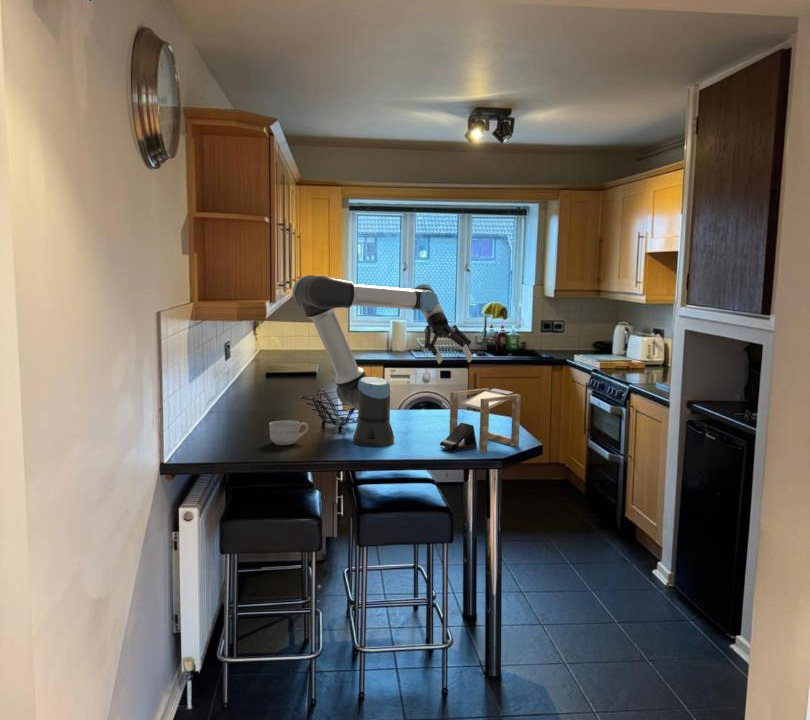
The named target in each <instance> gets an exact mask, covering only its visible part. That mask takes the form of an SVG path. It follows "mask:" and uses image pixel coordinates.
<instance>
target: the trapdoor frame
mask: <svg viewBox="0 0 810 720" xmlns="http://www.w3.org/2000/svg"><path fill="white" fill-rule="evenodd" d="M489 390H491V389H490V388H488V387H487V388H486V387H485V388H477V389H467V390H461V391H450V397H449V398H450V401H449V402H450V403H449V435H450V434H451V433H452V432H453V431H454V429H455V428H456V427H457V426H458V418H459V417H458V415H459V396H464V395H465V396H466V395H474V394H475V395H476V394H480V393H482V392H485V391H489ZM521 397H522V396H521V394H518V393H515V394H514V393H513V395H508V396H500V397H492V398H482V399H481V404H480V409H479V410H480V411H479V438H478V440H479V443H478V452H479V453H481V452H482V454H484V452H485V453H487V452H488V440H489V439H490V441H493V440H494V441H493V442H497V443H501V444H505V445H507V444H508V445H507V446H510V447H513V446H517V447H520V446H519V445H520V426H521V425H520V424H521V422H520V421H521V399H522V398H521ZM509 399H513V400H512V409H511V410H512V413H511V433H510V434H511V435H510V436H511V437H508V436H505V435H501V434H498V433H494V432H491V431H489V429H490V428H489V423H490V409H488V408H489V402H493V401H501V400H509ZM449 435H448V436H449Z"/></svg>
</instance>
